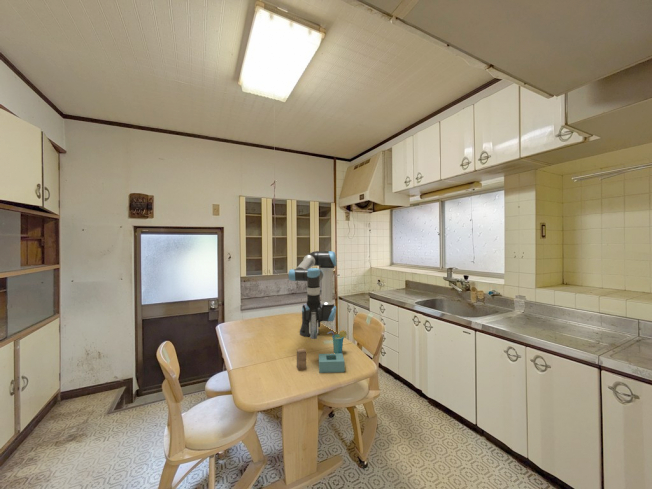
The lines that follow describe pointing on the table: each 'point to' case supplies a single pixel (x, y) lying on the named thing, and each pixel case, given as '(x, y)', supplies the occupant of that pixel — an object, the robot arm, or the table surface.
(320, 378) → the table surface
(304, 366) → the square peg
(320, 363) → the socket block
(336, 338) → the cup
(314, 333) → the round dowel
